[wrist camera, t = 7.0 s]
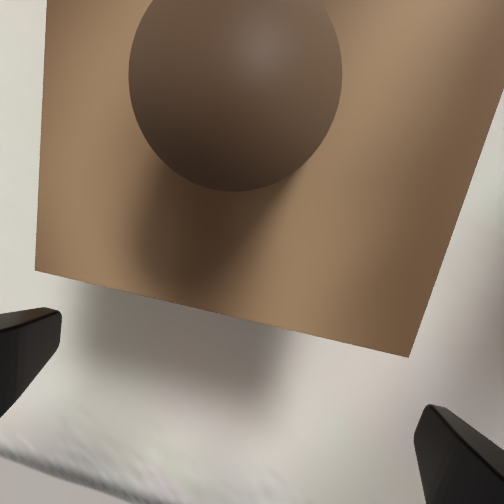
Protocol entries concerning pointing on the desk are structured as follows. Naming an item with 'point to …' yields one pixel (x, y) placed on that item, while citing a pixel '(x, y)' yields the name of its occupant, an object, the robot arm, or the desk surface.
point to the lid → (266, 153)
